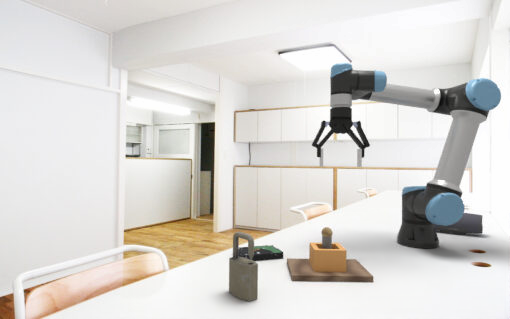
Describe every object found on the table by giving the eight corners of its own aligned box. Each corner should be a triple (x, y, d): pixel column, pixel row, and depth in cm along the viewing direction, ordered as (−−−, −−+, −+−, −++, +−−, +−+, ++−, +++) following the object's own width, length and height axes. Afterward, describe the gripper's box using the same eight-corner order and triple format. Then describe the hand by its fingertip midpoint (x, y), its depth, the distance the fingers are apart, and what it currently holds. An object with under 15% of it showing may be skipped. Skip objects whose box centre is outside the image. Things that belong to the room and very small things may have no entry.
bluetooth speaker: (481, 234, 155) (482, 212, 155) (482, 238, 147) (482, 215, 147) (426, 228, 167) (426, 208, 167) (424, 231, 159) (424, 210, 159)
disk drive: (241, 264, 107) (284, 259, 112) (241, 255, 107) (284, 251, 112) (232, 255, 117) (272, 251, 122) (232, 247, 117) (272, 244, 122)
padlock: (246, 302, 77) (247, 236, 77) (226, 291, 83) (226, 231, 83) (260, 298, 79) (260, 234, 79) (238, 288, 86) (239, 229, 86)
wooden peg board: (355, 264, 107) (356, 222, 107) (373, 282, 91) (373, 233, 91) (286, 263, 107) (287, 222, 107) (292, 280, 91) (292, 232, 91)
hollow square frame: (338, 262, 104) (338, 242, 104) (346, 271, 95) (346, 250, 95) (309, 261, 104) (309, 242, 104) (314, 271, 95) (314, 250, 95)
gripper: (372, 109, 124) (371, 167, 124) (304, 108, 124) (304, 166, 124) (379, 106, 117) (379, 167, 116) (307, 105, 117) (307, 166, 117)
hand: (340, 167), depth 120 cm, fingers open, 13 cm apart
